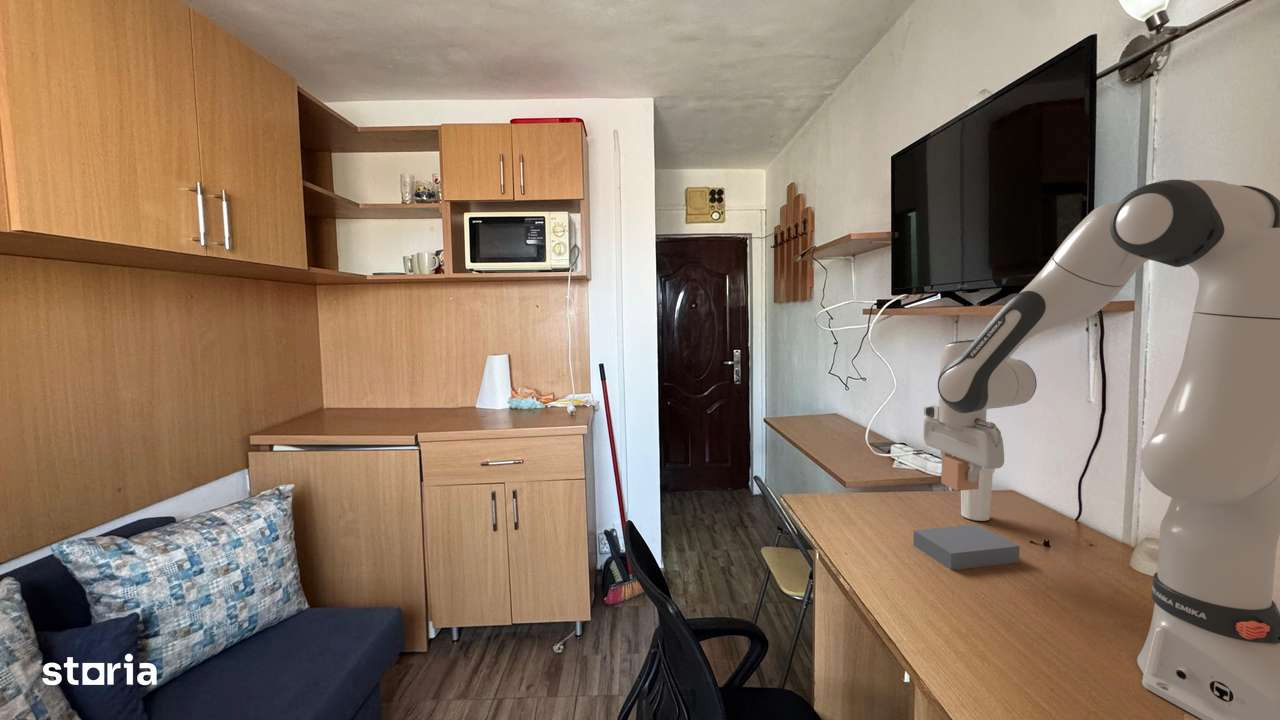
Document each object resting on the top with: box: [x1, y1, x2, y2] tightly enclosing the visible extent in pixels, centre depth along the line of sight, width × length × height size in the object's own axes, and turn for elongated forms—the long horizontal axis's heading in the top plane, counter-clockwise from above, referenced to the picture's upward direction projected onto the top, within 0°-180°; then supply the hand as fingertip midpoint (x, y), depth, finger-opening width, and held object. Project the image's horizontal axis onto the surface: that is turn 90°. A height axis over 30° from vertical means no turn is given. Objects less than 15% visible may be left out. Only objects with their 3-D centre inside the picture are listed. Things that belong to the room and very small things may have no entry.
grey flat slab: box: [913, 523, 1020, 571], centre depth 118 cm, size 12×16×4 cm
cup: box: [960, 467, 996, 522], centre depth 136 cm, size 8×8×14 cm
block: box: [940, 456, 979, 492], centre depth 116 cm, size 5×5×6 cm
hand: (960, 476), depth 116 cm, fingers closed on block, 5 cm apart
